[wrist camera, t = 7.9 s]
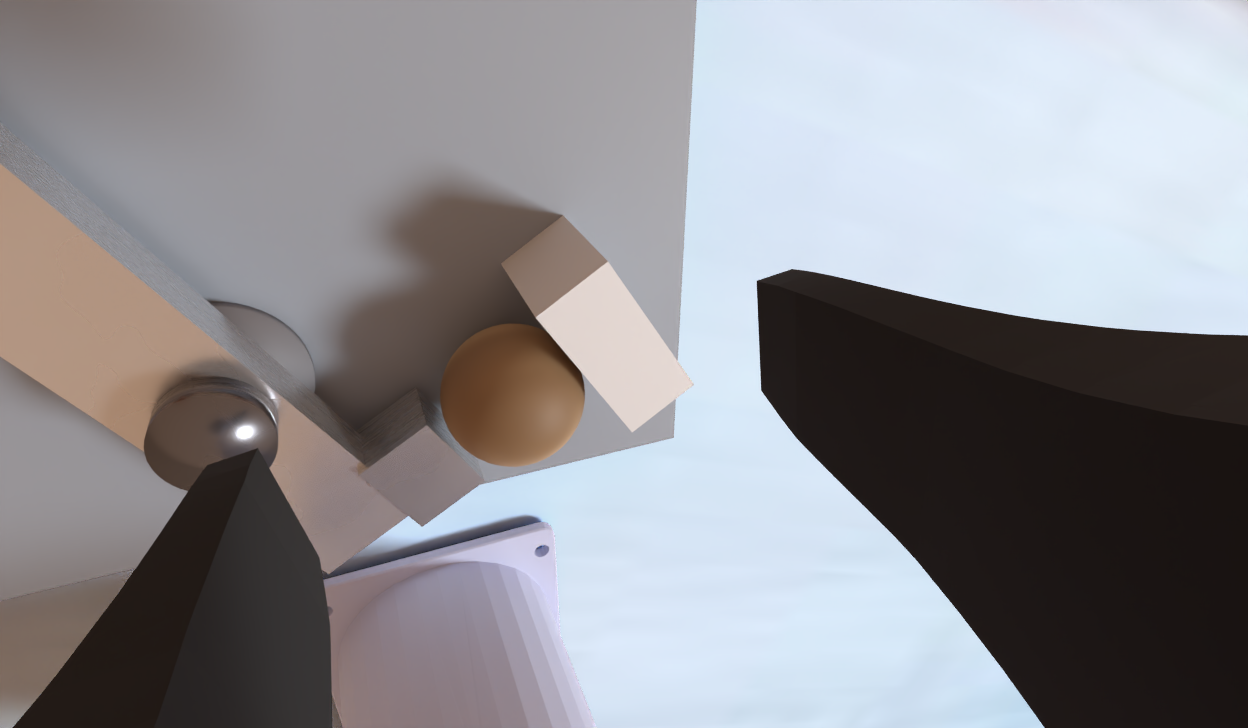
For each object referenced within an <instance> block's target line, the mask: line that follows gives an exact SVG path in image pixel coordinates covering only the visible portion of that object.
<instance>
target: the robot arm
mask: <svg viewBox="0 0 1248 728" xmlns="http://www.w3.org/2000/svg"><path fill="white" fill-rule="evenodd" d="M757 298H758V321H759V345H760V369H761V391H762V392H763V393H764V395H765V396H766V398H767V399H768V400H769V402H770V403H771V405H772V406H773V407H774V409H775V410H776V412H777V413H778V414H779V416H780V417H781V419H782V420H783V421H784V422H785V424H786V425H787V426H788V428H789V429H790V430H791V431H792V433H793V434H794V435H795V437H796V438H797V439H798V440H799V441H800V442H801V443H802V444H803V445H804V446H805V447H806V448H807V449H808V450H809V451H810V452H811V453H812V455H813V456H814V457H815V458H816V459H817V460H818V461H819V462H820V463H821V464H822V465H823V466H824V467H825V468H826V469H827V470H828V471H829V472H830V473H831V474H832V475H833V476H834V477H835V478H836V479H837V480H838V481H839V482H840V483H841V484H842V485H843V486H844V487H845V488H846V489H847V490H848V491H849V492H850V493H851V494H852V495H853V496H854V497H855V498H856V499H857V500H858V501H859V502H860V503H861V504H862V505H864V506H865V507H866V508H867V509H868V510H869V511H870V512H871V513H872V514H873V515H874V516H875V517H876V518H877V519H878V520H879V521H880V522H881V523H882V524H883V525H884V526H885V527H886V528H887V529H888V530H889V531H890V532H891V533H892V534H893V535H894V536H895V537H896V538H897V539H898V541H899V542H900V543H901V544H902V545H903V546H904V547H905V548H906V549H907V550H908V551H909V552H910V554H911V555H912V556H913V557H914V558H915V559H916V560H917V561H918V562H919V564H920V565H921V566H922V567H923V569H924V570H925V571H926V572H927V573H928V575H929V576H930V577H931V578H932V580H933V581H934V582H935V583H936V585H937V586H938V587H939V588H940V589H941V591H942V592H943V593H944V594H945V596H946V597H947V598H948V599H949V601H950V602H951V603H952V604H953V605H954V607H955V608H956V609H957V610H958V612H959V613H960V614H961V615H962V617H963V618H964V619H965V621H966V622H967V623H968V625H969V626H970V627H971V628H972V630H973V631H974V632H975V634H976V635H977V636H978V638H979V639H980V640H981V642H982V643H983V644H984V645H985V647H986V648H987V649H988V651H989V652H990V653H991V655H992V656H993V657H994V658H995V660H996V661H997V662H998V664H999V665H1000V666H1001V668H1002V669H1003V670H1004V672H1005V673H1006V674H1007V676H1008V677H1009V679H1010V680H1011V681H1012V683H1013V684H1014V686H1015V687H1016V688H1017V690H1018V691H1019V693H1020V694H1021V695H1022V697H1023V698H1024V700H1025V701H1026V702H1027V704H1028V705H1029V706H1030V708H1031V709H1032V711H1033V712H1034V713H1035V715H1036V716H1037V718H1038V719H1039V720H1040V722H1041V723H1042V725H1043V726H1044V727H1045V728H1248V336H1245V335H1208V334H1189V333H1172V332H1155V331H1139V330H1127V329H1116V328H1105V327H1096V326H1087V325H1079V324H1071V323H1063V322H1055V321H1047V320H1040V319H1033V318H1027V317H1020V316H1014V315H1009V314H1003V313H998V312H993V311H987V310H982V309H976V308H971V307H966V306H961V305H956V304H952V303H947V302H942V301H937V300H933V299H929V298H924V297H920V296H915V295H911V294H907V293H902V292H898V291H894V290H890V289H886V288H881V287H877V286H873V285H869V284H865V283H860V282H856V281H852V280H848V279H843V278H839V277H834V276H830V275H825V274H820V273H815V272H809V271H802V270H794V269H791V270H788V271H785V272H782V273H779V274H776V275H773V276H770V277H767V278H764V279H761V280H758V281H757ZM541 545H544V546H543V547H542V548H540V549H536V548H537V547H539V546H541ZM328 606H329V607H328ZM332 696H333V699H334V702H335V705H336V708H337V711H338V714H339V717H340V720H341V723H342V728H597V727H596V725H595V722H594V719H593V717H592V714H591V712H590V709H589V707H588V704H587V701H586V699H585V696H584V694H583V691H582V689H581V686H580V683H579V681H578V678H577V676H576V673H575V671H574V668H573V665H572V663H571V660H570V658H569V655H568V653H567V650H566V647H565V645H564V642H563V640H562V637H561V634H560V617H559V600H558V582H557V565H556V548H555V535H554V532H553V530H552V527H551V525H549V524H548V523H545V522H538V523H534V524H530V525H526V526H523V527H519V528H515V529H511V530H508V531H504V532H500V533H496V534H493V535H489V536H485V537H481V538H478V539H474V540H470V541H466V542H463V543H459V544H455V545H451V546H448V547H444V548H440V549H437V550H433V551H429V552H425V553H422V554H418V555H414V556H410V557H407V558H403V559H399V560H395V561H392V562H388V563H384V564H380V565H377V566H373V567H369V568H365V569H362V570H358V571H354V572H350V573H347V574H343V575H339V576H336V577H332V578H328V579H324V580H323V575H322V569H321V563H320V557H319V556H318V554H317V552H316V550H315V549H314V547H313V545H312V543H311V541H310V540H309V538H308V536H307V534H306V533H305V531H304V529H303V527H302V525H301V524H300V522H299V520H298V518H297V517H296V515H295V513H294V511H293V509H292V508H291V506H290V504H289V502H288V501H287V499H286V497H285V495H284V494H283V492H282V490H281V488H280V486H279V485H278V483H277V481H276V479H275V478H274V476H273V474H272V472H271V470H270V469H269V467H268V465H267V463H266V462H265V460H264V458H263V456H262V454H261V453H260V451H259V449H258V448H257V449H254V450H251V451H248V452H245V453H242V454H239V455H236V456H233V457H230V458H227V459H224V460H221V461H218V462H215V463H212V464H209V465H207V466H206V467H205V469H204V470H203V471H202V473H201V474H200V475H199V477H198V478H197V479H196V481H195V482H194V484H193V485H192V486H191V488H190V489H189V491H188V492H187V494H186V495H185V497H184V498H183V500H182V501H181V503H180V504H179V506H178V507H177V509H176V510H175V512H174V513H173V515H172V516H171V518H170V519H169V521H168V522H167V524H166V525H165V527H164V528H163V530H162V531H161V533H160V534H159V536H158V537H157V538H156V540H155V541H154V543H153V544H152V546H151V547H150V549H149V550H148V552H147V553H146V554H145V556H144V557H143V559H142V560H141V562H140V563H139V565H138V566H137V567H136V569H135V570H134V572H133V573H132V575H131V576H130V578H129V579H128V580H127V582H126V583H125V585H124V586H123V588H122V589H121V591H120V592H119V593H118V595H117V596H116V597H115V599H114V600H113V601H112V603H111V604H110V605H109V607H108V608H107V609H106V611H105V612H104V613H103V615H102V616H101V617H100V618H99V620H98V621H97V622H96V624H95V625H94V626H93V628H92V629H91V630H90V632H89V633H88V634H87V636H86V637H85V638H84V640H83V641H82V642H81V644H80V645H79V646H78V647H77V649H76V650H75V651H74V653H73V654H72V655H71V657H70V658H69V659H68V661H67V662H66V663H65V665H64V666H63V667H62V669H61V670H60V671H59V673H58V674H57V675H56V676H55V678H54V679H53V680H52V681H51V682H50V684H49V685H48V686H47V687H46V689H45V690H44V691H43V692H42V694H41V695H40V696H39V697H38V698H37V700H36V701H35V702H34V703H33V704H32V706H31V707H30V708H29V709H28V710H27V711H26V713H25V714H24V715H23V716H22V717H21V719H20V720H19V721H18V722H17V723H16V724H15V726H14V727H13V728H332Z"/></svg>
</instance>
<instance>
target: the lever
mask: <svg viewBox="0 0 1248 728" xmlns="http://www.w3.org/2000/svg"><path fill="white" fill-rule="evenodd" d="M0 357H2V358H3V359H5V360H6V361H8V362H9V363H11V364H12V365H14V366H15V367H17V368H18V369H20V370H21V371H23V372H24V373H26V374H27V375H29V376H30V377H32V378H33V379H35V380H36V381H38V382H39V383H41V384H42V385H44V386H45V387H47V388H48V389H50V390H51V391H53V392H54V393H56V394H57V395H59V396H60V397H62V398H63V399H65V400H66V401H68V402H70V403H71V404H73V405H74V406H76V407H77V408H79V409H80V410H82V411H83V412H85V413H86V414H88V415H89V416H91V417H92V418H94V419H95V420H97V421H98V422H100V423H101V424H103V425H104V426H106V427H107V428H109V429H110V430H112V431H113V432H115V433H116V434H118V435H119V436H121V437H122V438H124V439H125V440H127V441H128V442H130V443H131V444H133V445H134V446H136V447H137V448H139V449H140V450H142V451H143V452H144V454H145V457H146V460H147V462H148V464H149V466H150V467H151V469H152V470H153V471H154V472H155V473H156V474H157V475H158V476H159V477H160V478H161V479H163V480H164V481H165V482H167V483H169V484H171V485H173V486H175V487H177V488H180V489H183V490H186V491H189V489H190V488H191V486H192V485H193V484H194V482H195V481H196V479H197V478H198V477H199V475H200V474H201V473H202V471H203V470H204V469H205V467H206V466H207V465H209V464H212V463H215V462H218V461H221V460H224V459H227V458H230V457H233V456H236V455H239V454H242V453H245V452H248V451H251V450H254V449H257V448H258V449H259V451H260V453H261V454H262V456H263V458H264V460H265V462H266V463H267V465H268V467H269V469H270V470H271V472H272V474H273V476H274V478H275V479H276V481H277V483H278V485H279V486H280V488H281V490H282V492H283V494H284V495H285V497H286V499H287V501H288V502H289V504H290V506H291V508H292V509H293V511H294V513H295V515H296V517H297V518H298V520H299V522H300V524H301V525H302V527H303V529H304V531H305V533H306V534H307V536H308V538H309V540H310V541H311V543H312V545H313V547H314V549H315V550H316V552H317V554H318V556H319V557H320V563H321V569H322V570H323V571H325V572H326V573H328V574H330V573H331V572H332V571H334V570H335V569H337V568H338V567H339V566H341V565H342V564H343V563H345V562H346V561H347V560H349V559H350V558H352V557H353V556H354V555H356V554H357V553H358V552H360V551H361V550H362V549H364V548H365V547H367V546H368V545H369V544H371V543H372V542H373V541H375V540H376V539H377V538H379V537H380V536H381V535H383V534H384V533H386V532H387V531H388V530H390V529H391V528H392V527H394V526H395V525H396V524H398V523H399V522H401V521H402V520H403V519H405V518H406V517H407V516H410V517H411V518H412V519H413V520H414V521H416V522H417V523H418V524H419V525H421V526H422V527H423V526H424V525H425V524H427V523H428V522H429V521H431V520H432V519H433V518H435V517H436V516H438V515H439V514H440V513H442V512H443V511H444V510H446V509H447V508H448V507H450V506H451V505H452V504H454V503H455V502H457V501H458V500H459V499H461V498H462V497H463V496H465V495H466V494H467V493H469V492H470V491H472V490H473V489H474V488H476V487H477V486H478V485H480V484H481V483H482V482H484V481H485V479H484V477H483V474H482V471H481V468H480V466H479V463H478V460H477V458H476V457H475V456H473V455H471V454H470V453H469V452H468V451H466V450H465V449H464V448H463V447H462V446H461V445H460V444H459V443H458V442H457V441H456V440H455V438H454V437H453V436H452V434H451V432H450V431H449V429H448V427H447V425H446V422H445V420H444V418H443V414H442V412H441V411H440V410H439V409H438V408H437V407H436V406H435V405H434V404H433V403H432V402H430V401H429V400H428V399H427V398H426V397H425V396H424V395H423V394H422V393H421V392H420V391H419V390H418V389H417V388H414V389H413V390H411V391H410V392H409V393H407V394H406V395H405V396H403V397H402V398H400V399H399V400H398V401H396V402H395V403H394V404H392V405H391V406H390V407H388V408H387V409H385V410H384V411H383V412H381V413H380V414H379V415H377V416H376V417H374V418H373V419H372V420H370V421H369V422H368V423H366V424H365V425H363V426H362V427H361V428H359V429H358V430H356V429H355V428H354V427H353V426H351V425H350V424H349V423H348V422H347V421H346V420H344V419H343V418H342V417H341V416H340V415H339V414H337V413H336V412H335V411H334V410H333V409H332V408H331V407H329V406H328V405H327V404H326V403H325V402H324V401H322V400H321V399H320V398H319V397H318V396H317V395H315V394H314V393H313V392H312V391H311V390H310V389H309V388H307V387H306V386H305V385H304V384H303V383H302V382H300V381H299V380H298V379H297V378H296V377H295V376H293V375H292V374H291V373H290V372H289V371H288V370H287V369H285V368H284V367H283V366H282V365H281V364H280V363H278V362H277V361H276V360H275V359H274V358H273V357H271V356H270V355H269V354H268V353H267V352H266V351H265V350H263V349H262V348H261V347H260V346H259V345H258V344H256V343H255V342H254V341H253V340H252V339H251V338H249V337H248V336H247V335H246V334H245V333H244V332H242V331H241V330H240V329H239V328H238V327H237V326H236V325H234V324H233V323H232V322H231V321H230V320H229V319H227V318H226V317H225V316H224V315H223V314H222V313H220V312H219V311H218V310H217V309H216V308H215V307H214V306H212V305H211V304H210V303H209V302H208V301H207V300H205V299H204V298H203V297H202V296H201V295H200V294H198V293H197V292H196V291H195V290H194V289H193V288H192V287H190V286H189V285H188V284H187V283H186V282H185V281H183V280H182V279H181V278H180V277H179V276H178V275H176V274H175V273H174V272H173V271H172V270H171V269H170V268H168V267H167V266H166V265H165V264H164V263H163V262H161V261H160V260H159V259H158V258H157V257H156V256H154V255H153V254H152V253H151V252H150V251H149V250H148V249H146V248H145V247H144V246H143V245H142V244H141V243H139V242H138V241H137V240H136V239H135V238H134V237H132V236H131V235H130V234H129V233H128V232H127V231H125V230H124V229H123V228H122V227H121V226H120V225H119V224H117V223H116V222H115V221H114V220H113V219H112V218H110V217H109V216H108V215H107V214H106V213H105V212H103V211H102V210H101V209H100V208H99V207H98V206H97V205H95V204H94V203H93V202H92V201H91V200H90V199H88V198H87V197H86V196H85V195H84V194H83V193H81V192H80V191H79V190H78V189H77V188H76V187H75V186H73V185H72V184H71V183H70V182H69V181H68V180H66V179H65V178H64V177H63V176H62V175H61V174H59V173H58V172H57V171H56V170H55V169H54V168H53V167H51V166H50V165H49V164H48V163H47V162H46V161H44V160H43V159H42V158H41V157H40V156H39V155H37V154H36V153H35V152H34V151H33V150H32V149H31V148H29V147H28V146H27V145H26V144H25V143H24V142H22V141H21V140H20V139H19V138H18V137H17V136H15V135H14V134H13V133H12V132H11V131H10V130H8V129H7V128H6V127H5V126H4V125H3V124H2V123H0Z"/></svg>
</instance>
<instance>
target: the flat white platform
mask: <svg viewBox="0 0 1248 728" xmlns="http://www.w3.org/2000/svg"><path fill="white" fill-rule="evenodd" d="M696 1H697V0H0V123H2V124H3V125H4V126H5V127H6V128H7V129H8V130H10V131H11V132H12V133H13V134H14V135H15V136H17V137H18V138H19V139H20V140H21V141H22V142H24V143H25V144H26V145H27V146H28V147H29V148H31V149H32V150H33V151H34V152H35V153H36V154H37V155H39V156H40V157H41V158H42V159H43V160H44V161H46V162H47V163H48V164H49V165H50V166H51V167H53V168H54V169H55V170H56V171H57V172H58V173H59V174H61V175H62V176H63V177H64V178H65V179H66V180H68V181H69V182H70V183H71V184H72V185H73V186H75V187H76V188H77V189H78V190H79V191H80V192H81V193H83V194H84V195H85V196H86V197H87V198H88V199H90V200H91V201H92V202H93V203H94V204H95V205H97V206H98V207H99V208H100V209H101V210H102V211H103V212H105V213H106V214H107V215H108V216H109V217H110V218H112V219H113V220H114V221H115V222H116V223H117V224H119V225H120V226H121V227H122V228H123V229H124V230H125V231H127V232H128V233H129V234H130V235H131V236H132V237H134V238H135V239H136V240H137V241H138V242H139V243H141V244H142V245H143V246H144V247H145V248H146V249H148V250H149V251H150V252H151V253H152V254H153V255H154V256H156V257H157V258H158V259H159V260H160V261H161V262H163V263H164V264H165V265H166V266H167V267H168V268H170V269H171V270H172V271H173V272H174V273H175V274H176V275H178V276H179V277H180V278H181V279H182V280H183V281H185V282H186V283H187V284H188V285H189V286H190V287H192V288H193V289H194V290H195V291H196V292H197V293H198V294H200V295H201V296H202V297H203V298H204V299H205V300H207V301H208V302H209V303H210V304H211V305H212V306H214V307H215V308H216V309H217V310H218V311H219V312H220V313H222V314H223V315H224V316H225V317H226V318H227V319H229V320H230V321H231V322H232V323H233V324H234V325H236V326H237V327H238V328H239V329H240V330H241V331H242V332H244V333H245V334H246V335H247V336H248V337H249V338H251V339H252V340H253V341H254V342H255V343H256V344H258V345H259V346H260V347H261V348H262V349H263V350H265V351H266V352H267V353H268V354H269V355H270V356H271V357H273V358H274V359H275V360H276V361H277V362H278V363H280V364H281V365H282V366H283V367H284V368H285V369H287V370H288V371H289V372H290V373H291V374H292V375H293V376H295V377H296V378H297V379H298V380H299V381H300V382H302V383H303V384H304V385H305V386H306V387H307V388H309V389H310V390H311V391H312V392H313V393H314V394H315V395H317V396H318V397H319V398H320V399H321V400H322V401H324V402H325V403H326V404H327V405H328V406H329V407H331V408H332V409H333V410H334V411H335V412H336V413H337V414H339V415H340V416H341V417H342V418H343V419H344V420H346V421H347V422H348V423H349V424H350V425H351V426H353V427H354V428H355V429H356V430H358V429H359V428H361V427H362V426H363V425H365V424H366V423H368V422H369V421H370V420H372V419H373V418H374V417H376V416H377V415H379V414H380V413H381V412H383V411H384V410H385V409H387V408H388V407H390V406H391V405H392V404H394V403H395V402H396V401H398V400H399V399H400V398H402V397H403V396H405V395H406V394H407V393H409V392H410V391H411V390H413V389H414V388H417V389H418V390H419V391H420V392H421V393H422V394H423V395H424V396H425V397H426V398H427V399H428V400H429V401H430V402H432V403H433V404H434V405H435V406H436V407H437V408H438V409H439V410H440V411H441V412H442V409H441V404H440V389H441V381H442V377H443V374H444V371H445V369H446V366H447V364H448V362H449V360H450V358H451V357H452V355H453V354H454V353H455V351H456V350H457V349H458V348H459V347H460V346H461V345H462V344H463V343H464V342H465V341H466V340H467V339H468V338H470V337H471V336H473V335H474V334H476V333H478V332H480V331H482V330H484V329H486V328H489V327H492V326H496V325H500V324H526V325H530V326H534V327H537V328H540V329H542V330H544V331H547V332H548V333H549V334H550V335H551V337H552V338H553V339H554V340H555V341H556V343H557V344H558V345H559V346H560V347H561V348H562V350H563V351H564V352H565V353H566V354H567V356H568V357H569V358H570V359H571V360H572V362H573V363H574V364H575V365H576V366H577V368H578V369H579V370H580V371H581V373H582V377H583V381H584V387H585V404H584V409H583V413H582V417H581V420H580V422H579V424H578V426H577V428H576V430H575V432H574V433H573V435H572V436H571V438H570V439H569V440H568V442H567V443H566V444H565V445H564V446H563V447H562V448H561V449H559V450H558V451H557V452H556V453H554V454H553V455H551V456H550V457H548V458H546V459H544V460H542V461H539V462H537V463H534V464H530V465H526V466H519V467H506V466H499V465H494V464H490V463H487V462H485V461H483V460H480V459H478V458H477V460H478V463H479V466H480V468H481V471H482V474H483V477H484V479H485V481H484V482H482V483H481V484H485V483H489V482H493V481H497V480H501V479H505V478H510V477H514V476H518V475H522V474H526V473H530V472H534V471H538V470H542V469H547V468H551V467H555V466H559V465H563V464H567V463H571V462H575V461H579V460H584V459H588V458H592V457H596V456H600V455H604V454H608V453H612V452H617V451H621V450H625V449H629V448H633V447H637V446H641V445H645V444H649V443H654V442H658V441H662V440H666V439H670V438H674V420H675V401H676V398H677V397H679V396H680V395H681V394H683V393H684V392H685V391H686V390H688V389H689V388H690V387H692V386H693V385H694V384H693V382H692V381H691V380H690V378H689V377H688V375H687V374H686V372H685V371H684V370H683V368H682V367H681V365H680V364H679V362H678V344H679V325H680V306H681V287H682V268H683V249H684V230H685V211H686V192H687V173H688V154H689V135H690V116H691V97H692V78H693V58H694V39H695V20H696ZM481 484H480V485H481ZM187 492H188V491H186V490H183V489H180V488H177V487H175V486H173V485H171V484H169V483H167V482H165V481H164V480H163V479H161V478H160V477H159V476H158V475H157V474H156V473H155V472H154V471H153V470H152V469H151V467H150V466H149V464H148V462H147V460H146V457H145V454H144V452H143V451H142V450H140V449H139V448H137V447H136V446H134V445H133V444H131V443H130V442H128V441H127V440H125V439H124V438H122V437H121V436H119V435H118V434H116V433H115V432H113V431H112V430H110V429H109V428H107V427H106V426H104V425H103V424H101V423H100V422H98V421H97V420H95V419H94V418H92V417H91V416H89V415H88V414H86V413H85V412H83V411H82V410H80V409H79V408H77V407H76V406H74V405H73V404H71V403H70V402H68V401H66V400H65V399H63V398H62V397H60V396H59V395H57V394H56V393H54V392H53V391H51V390H50V389H48V388H47V387H45V386H44V385H42V384H41V383H39V382H38V381H36V380H35V379H33V378H32V377H30V376H29V375H27V374H26V373H24V372H23V371H21V370H20V369H18V368H17V367H15V366H14V365H12V364H11V363H9V362H8V361H6V360H5V359H3V358H2V357H0V601H4V600H8V599H12V598H16V597H20V596H24V595H28V594H32V593H36V592H41V591H45V590H49V589H53V588H57V587H61V586H65V585H69V584H73V583H78V582H82V581H86V580H90V579H94V578H98V577H102V576H106V575H111V574H115V573H119V572H123V571H127V570H131V569H135V568H136V567H137V566H138V565H139V563H140V562H141V560H142V559H143V557H144V556H145V554H146V553H147V552H148V550H149V549H150V547H151V546H152V544H153V543H154V541H155V540H156V538H157V537H158V536H159V534H160V533H161V531H162V530H163V528H164V527H165V525H166V524H167V522H168V521H169V519H170V518H171V516H172V515H173V513H174V512H175V510H176V509H177V507H178V506H179V504H180V503H181V501H182V500H183V498H184V497H185V495H186V494H187Z"/></svg>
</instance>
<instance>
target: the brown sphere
mask: <svg viewBox="0 0 1248 728" xmlns="http://www.w3.org/2000/svg"><path fill="white" fill-rule="evenodd" d="M440 404H441V409H442V414H443V418H444V420H445V422H446V425H447V427H448V429H449V431H450V432H451V434H452V436H453V437H454V438H455V440H456V441H457V442H458V443H459V444H460V445H461V446H462V447H463V448H464V449H465V450H466V451H468V452H469V453H470V454H471V455H473V456H475V457H476V458H478V459H480V460H483V461H485V462H487V463H490V464H494V465H499V466H506V467H519V466H526V465H530V464H534V463H537V462H539V461H542V460H544V459H546V458H548V457H550V456H551V455H553V454H554V453H556V452H557V451H558V450H559V449H561V448H562V447H563V446H564V445H565V444H566V443H567V442H568V440H569V439H570V438H571V436H572V435H573V433H574V432H575V430H576V428H577V426H578V424H579V422H580V420H581V417H582V413H583V409H584V404H585V387H584V381H583V377H582V373H581V371H580V370H579V369H578V368H577V366H576V365H575V364H574V363H573V362H572V360H571V359H570V358H569V357H568V356H567V354H566V353H565V352H564V351H563V350H562V348H561V347H560V346H559V345H558V344H557V343H556V341H555V340H554V339H553V338H552V337H551V335H550V334H549V333H548V332H547V331H544V330H542V329H540V328H537V327H534V326H530V325H526V324H500V325H496V326H492V327H489V328H486V329H484V330H482V331H480V332H478V333H476V334H474V335H473V336H471V337H470V338H468V339H467V340H466V341H465V342H464V343H463V344H462V345H461V346H460V347H459V348H458V349H457V350H456V351H455V353H454V354H453V355H452V357H451V358H450V360H449V362H448V364H447V366H446V369H445V371H444V374H443V377H442V381H441V389H440Z"/></svg>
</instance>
